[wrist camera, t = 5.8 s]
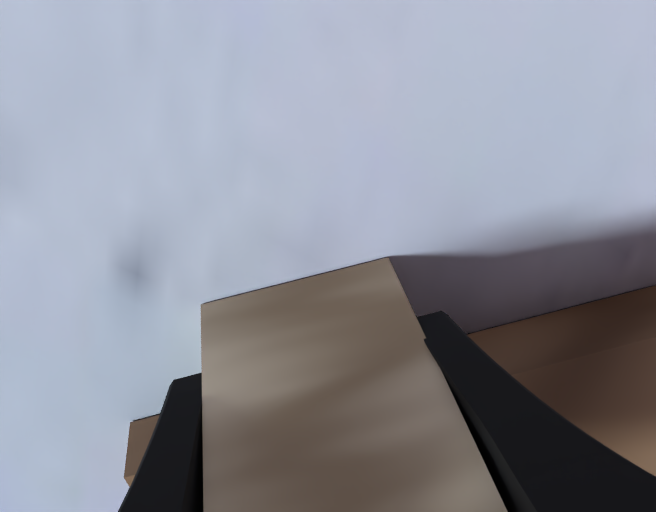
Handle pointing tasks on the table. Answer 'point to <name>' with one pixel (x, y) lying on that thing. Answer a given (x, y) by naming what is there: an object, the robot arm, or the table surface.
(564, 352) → the walnut board
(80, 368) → the table surface
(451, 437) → the marking gauge
